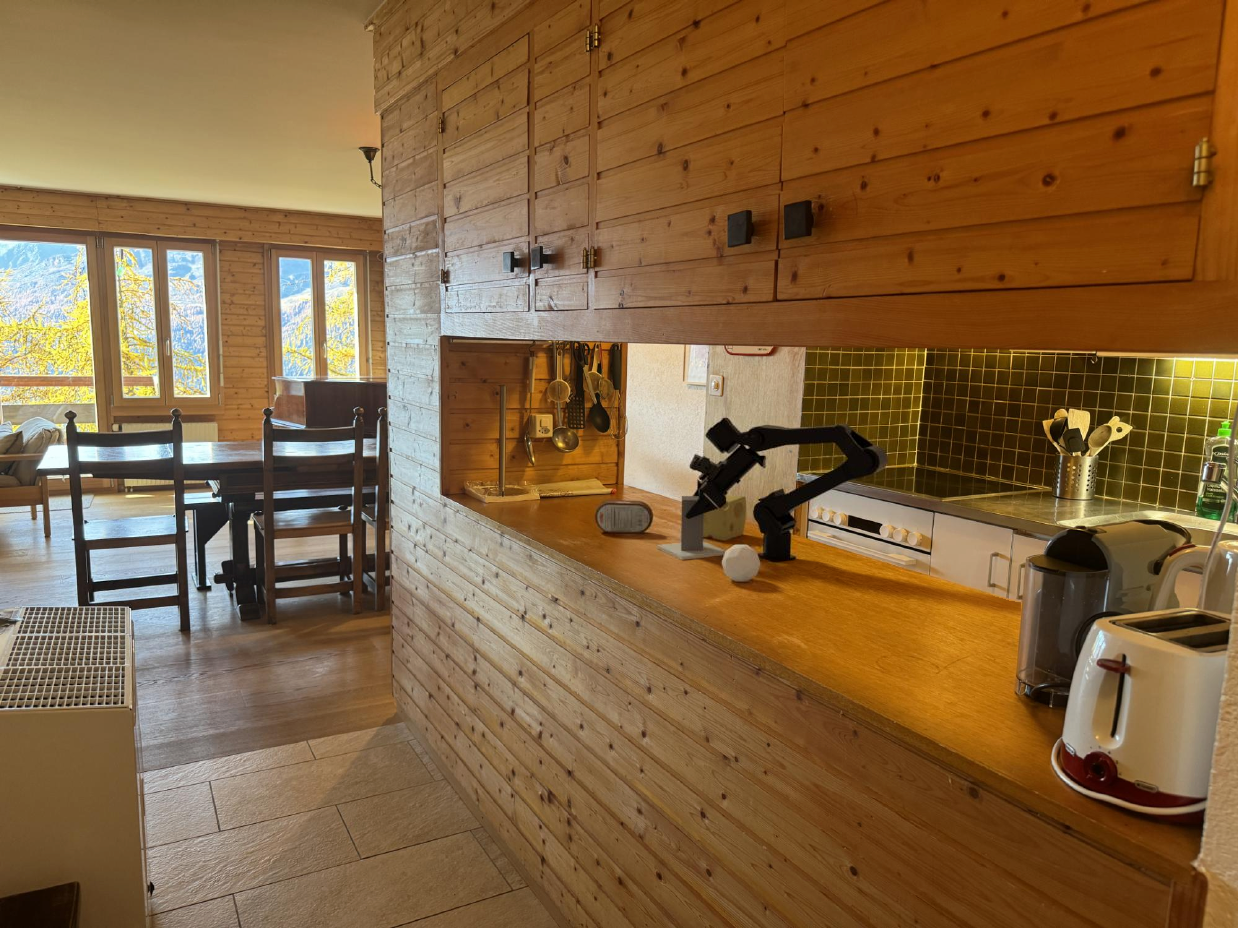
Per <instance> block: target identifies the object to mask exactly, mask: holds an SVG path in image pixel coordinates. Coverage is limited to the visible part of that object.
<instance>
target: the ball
mask: <svg viewBox="0 0 1238 928" xmlns="http://www.w3.org/2000/svg"><path fill="white" fill-rule="evenodd" d="M759 557H760V556H758V551H756V550H755V549H754V548H752V547H751V546H749V545H748V544H734V545H732V546H731V547H729V548H728V549H726V550H725V554H724V555H723V557H722V560H721V565H722V568H723V571H724V574H725V575H726V576H727V577H728V578H730V579H731V580H733V582H737V583H738V582H739V583H740V582H741V583H742V582H744V583H745V582H749V581H750V580H751V579H754V578H755V576H757V575H758V572H759V569H760V566H761V561H760V558H759Z"/></svg>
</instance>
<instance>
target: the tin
mask: <svg viewBox="0 0 1238 928" xmlns="http://www.w3.org/2000/svg"><path fill="white" fill-rule="evenodd" d="M653 520H654V514H653V510H652V508H651V506H649V504H648V503H646V502H644V501H641V500H625V499H624V500H619V499H608V500H604V501H602V502H601V503H600V504H599V505H598V506H597V508H596V510H595V513H594V521H595V524H596V525H597V527H598V528H599V529H600V531H603V532H605V533H609V534H631V535H632V534H636V535H637V534H638V535H639V534H643V533H645V532H646V531H648V530H649V529H650V527H651V526H652V523H653Z"/></svg>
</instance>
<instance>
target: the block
mask: <svg viewBox="0 0 1238 928" xmlns="http://www.w3.org/2000/svg"><path fill="white" fill-rule="evenodd" d="M698 497H699V496H693V495H682V496H681V517H680V518H681V520H680V521H681V523H680V525H681V526H680V527H681V528H680V530H681V532H680V534H681V535H680V543H681V551H703V542H704V537H703V515H704V514H701V515H698V516H696V517H693V518H690V519H687V518H686V517H685V515H686V514H687V512H688V511H689V510H690V508H691V507H692V506H693V504H694V503H695V502H696V500H697V499H698Z"/></svg>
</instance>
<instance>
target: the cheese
mask: <svg viewBox="0 0 1238 928" xmlns="http://www.w3.org/2000/svg"><path fill="white" fill-rule="evenodd" d="M746 499H747V498H746V496H743V495H729V494H727V495H726V504H725V505H723V506H722V507H721V508H719V507H718V509H717V510H716V509H715V510H712V511H709V512H707V513H704V515H703V538H712V539H713V540H719V541H722V542H726V541H729V540H730V539H733V538H736V537H739V536H743V535H744V533H745V524H746V519H747V501H746Z"/></svg>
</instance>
